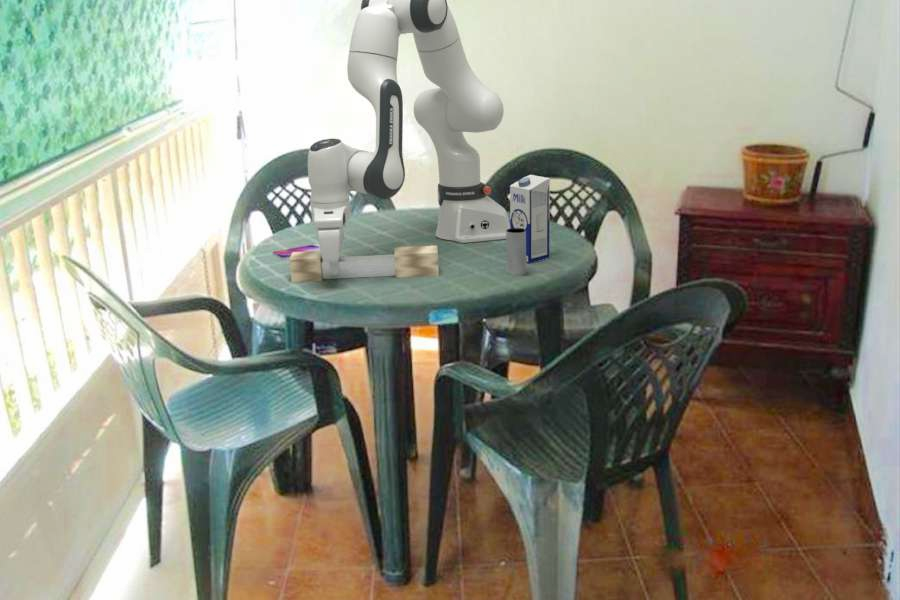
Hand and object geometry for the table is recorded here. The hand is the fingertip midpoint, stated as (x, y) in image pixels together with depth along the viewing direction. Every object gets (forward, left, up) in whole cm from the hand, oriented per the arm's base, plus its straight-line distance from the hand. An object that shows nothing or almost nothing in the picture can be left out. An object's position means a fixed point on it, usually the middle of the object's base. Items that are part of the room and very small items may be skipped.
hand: (335, 269), depth 196 cm
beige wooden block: (+7, 0, -2) cm, 7 cm away
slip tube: (-5, 0, -2) cm, 5 cm away
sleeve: (-19, 0, -2) cm, 19 cm away
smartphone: (+10, -24, -2) cm, 26 cm away
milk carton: (-47, -8, -2) cm, 48 cm away
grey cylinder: (-42, +4, -2) cm, 42 cm away
